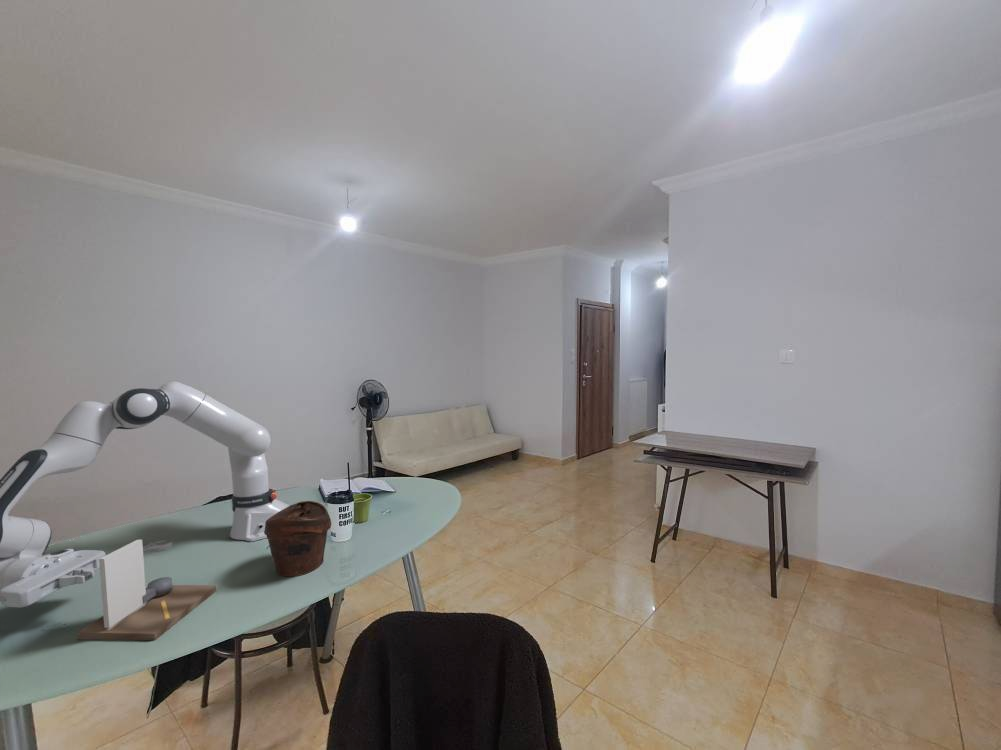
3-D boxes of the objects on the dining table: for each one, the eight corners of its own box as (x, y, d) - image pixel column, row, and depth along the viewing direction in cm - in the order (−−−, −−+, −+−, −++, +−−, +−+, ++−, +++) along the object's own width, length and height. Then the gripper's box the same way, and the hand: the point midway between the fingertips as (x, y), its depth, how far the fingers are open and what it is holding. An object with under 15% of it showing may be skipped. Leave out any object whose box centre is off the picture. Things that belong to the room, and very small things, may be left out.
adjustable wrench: (65, 575, 130) (64, 569, 130) (68, 567, 135) (67, 561, 135) (171, 549, 145) (171, 544, 145) (171, 542, 150) (170, 537, 150)
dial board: (151, 590, 120) (151, 584, 120) (216, 590, 119) (216, 585, 119) (77, 638, 100) (77, 632, 100) (155, 640, 99) (154, 633, 99)
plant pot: (358, 527, 160) (357, 503, 160) (341, 522, 165) (340, 499, 165) (378, 518, 168) (377, 495, 167) (361, 513, 173) (360, 491, 172)
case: (316, 544, 146) (313, 491, 145) (344, 565, 132) (341, 506, 130) (257, 564, 134) (253, 506, 132) (280, 590, 119) (276, 525, 118)
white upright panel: (158, 586, 118) (154, 527, 117) (177, 586, 118) (173, 527, 117) (96, 627, 101) (90, 558, 100) (117, 628, 100) (112, 559, 99)
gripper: (-19, 587, 98) (41, 587, 97) (74, 545, 118) (124, 545, 117) (-17, 615, 98) (43, 615, 97) (76, 568, 118) (126, 568, 118)
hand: (88, 577), depth 108 cm, fingers closed
